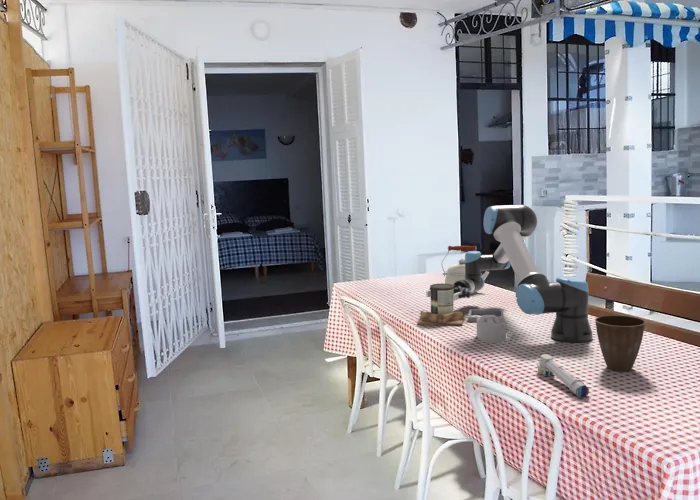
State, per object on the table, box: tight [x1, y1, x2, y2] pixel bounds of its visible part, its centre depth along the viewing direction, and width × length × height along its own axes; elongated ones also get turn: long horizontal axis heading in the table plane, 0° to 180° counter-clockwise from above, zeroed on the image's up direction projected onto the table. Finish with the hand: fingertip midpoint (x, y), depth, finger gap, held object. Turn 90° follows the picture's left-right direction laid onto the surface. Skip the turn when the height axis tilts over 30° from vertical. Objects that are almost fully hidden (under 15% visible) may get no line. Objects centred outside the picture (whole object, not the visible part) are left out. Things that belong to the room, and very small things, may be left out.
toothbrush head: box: [536, 353, 590, 398], centre depth 194 cm, size 5×7×25 cm
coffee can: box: [429, 282, 455, 315], centre depth 277 cm, size 10×10×14 cm
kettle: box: [441, 245, 490, 295], centre depth 334 cm, size 25×18×25 cm
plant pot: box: [594, 315, 646, 372], centre depth 205 cm, size 15×15×16 cm
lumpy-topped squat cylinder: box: [476, 314, 507, 344], centre depth 245 cm, size 10×13×9 cm
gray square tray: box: [467, 308, 505, 323], centre depth 278 cm, size 15×15×2 cm
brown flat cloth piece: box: [416, 310, 465, 327], centre depth 275 cm, size 16×19×4 cm
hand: (440, 295), depth 276 cm, fingers open, 13 cm apart
